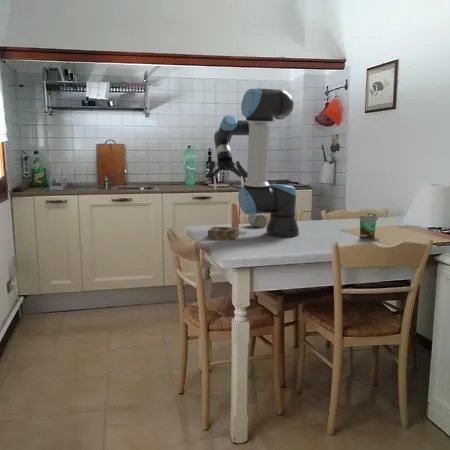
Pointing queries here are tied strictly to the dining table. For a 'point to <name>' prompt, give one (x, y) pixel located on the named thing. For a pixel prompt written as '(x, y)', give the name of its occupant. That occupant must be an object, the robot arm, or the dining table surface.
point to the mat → (242, 233)
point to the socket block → (223, 233)
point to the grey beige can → (257, 220)
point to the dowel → (235, 214)
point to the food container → (368, 225)
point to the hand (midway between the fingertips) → (229, 188)
